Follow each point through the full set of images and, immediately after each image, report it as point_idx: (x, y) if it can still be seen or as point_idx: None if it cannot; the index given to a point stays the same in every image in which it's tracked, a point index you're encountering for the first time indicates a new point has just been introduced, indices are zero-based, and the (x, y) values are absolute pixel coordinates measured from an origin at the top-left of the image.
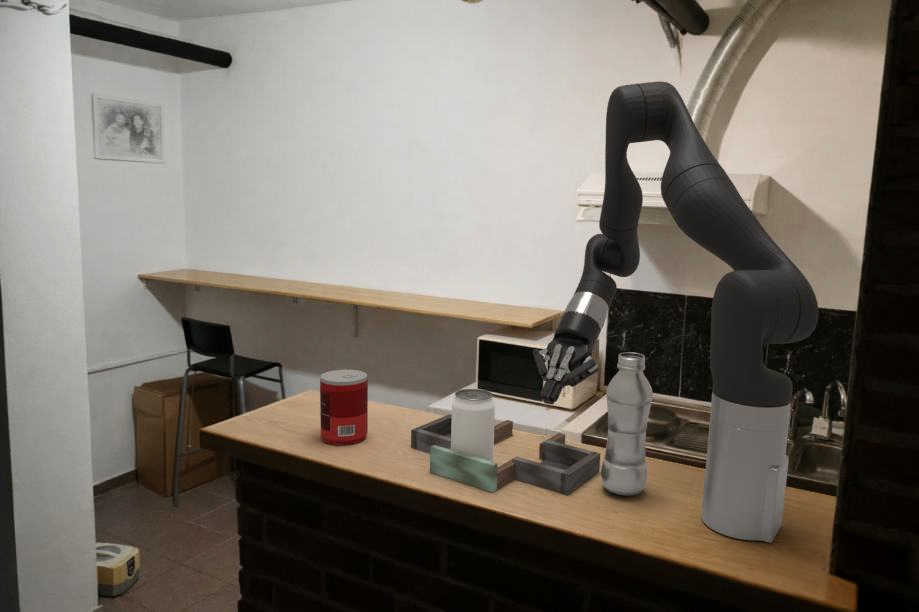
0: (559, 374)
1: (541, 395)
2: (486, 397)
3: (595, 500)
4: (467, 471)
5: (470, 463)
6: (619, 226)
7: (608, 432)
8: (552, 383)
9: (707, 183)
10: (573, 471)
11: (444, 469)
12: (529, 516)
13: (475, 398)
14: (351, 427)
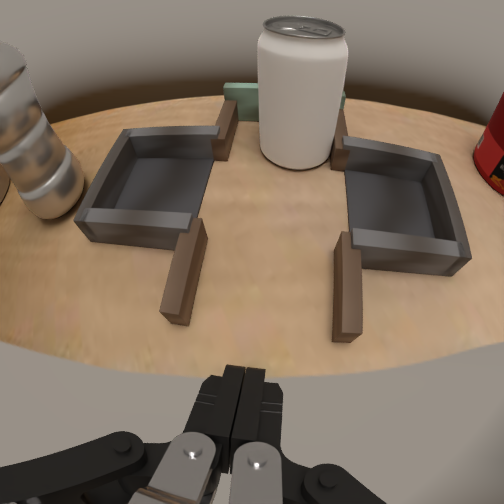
0: (189, 468)
1: (273, 383)
2: (276, 29)
3: (99, 160)
4: None
5: None
6: None
7: (45, 117)
8: (226, 421)
9: None
10: (117, 139)
11: None
12: (169, 102)
13: (290, 24)
14: (482, 137)
